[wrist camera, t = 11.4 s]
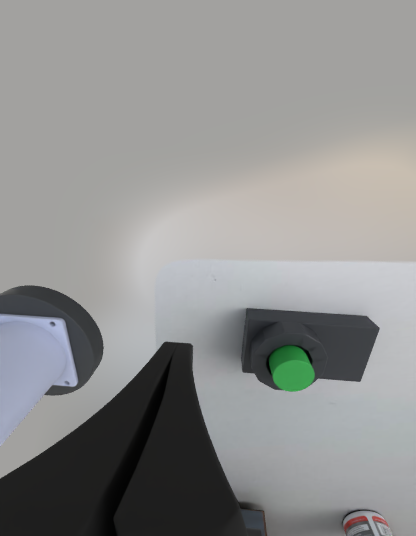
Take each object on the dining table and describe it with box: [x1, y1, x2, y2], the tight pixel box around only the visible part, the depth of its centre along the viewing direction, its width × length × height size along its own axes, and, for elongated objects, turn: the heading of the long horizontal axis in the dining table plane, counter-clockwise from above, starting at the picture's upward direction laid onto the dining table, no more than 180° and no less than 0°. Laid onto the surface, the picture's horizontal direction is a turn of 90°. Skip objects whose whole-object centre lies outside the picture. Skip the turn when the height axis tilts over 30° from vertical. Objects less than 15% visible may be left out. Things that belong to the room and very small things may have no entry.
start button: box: [269, 345, 315, 391], centre depth 19 cm, size 3×3×2 cm
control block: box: [241, 308, 379, 390], centre depth 21 cm, size 11×6×4 cm, turn 88°
